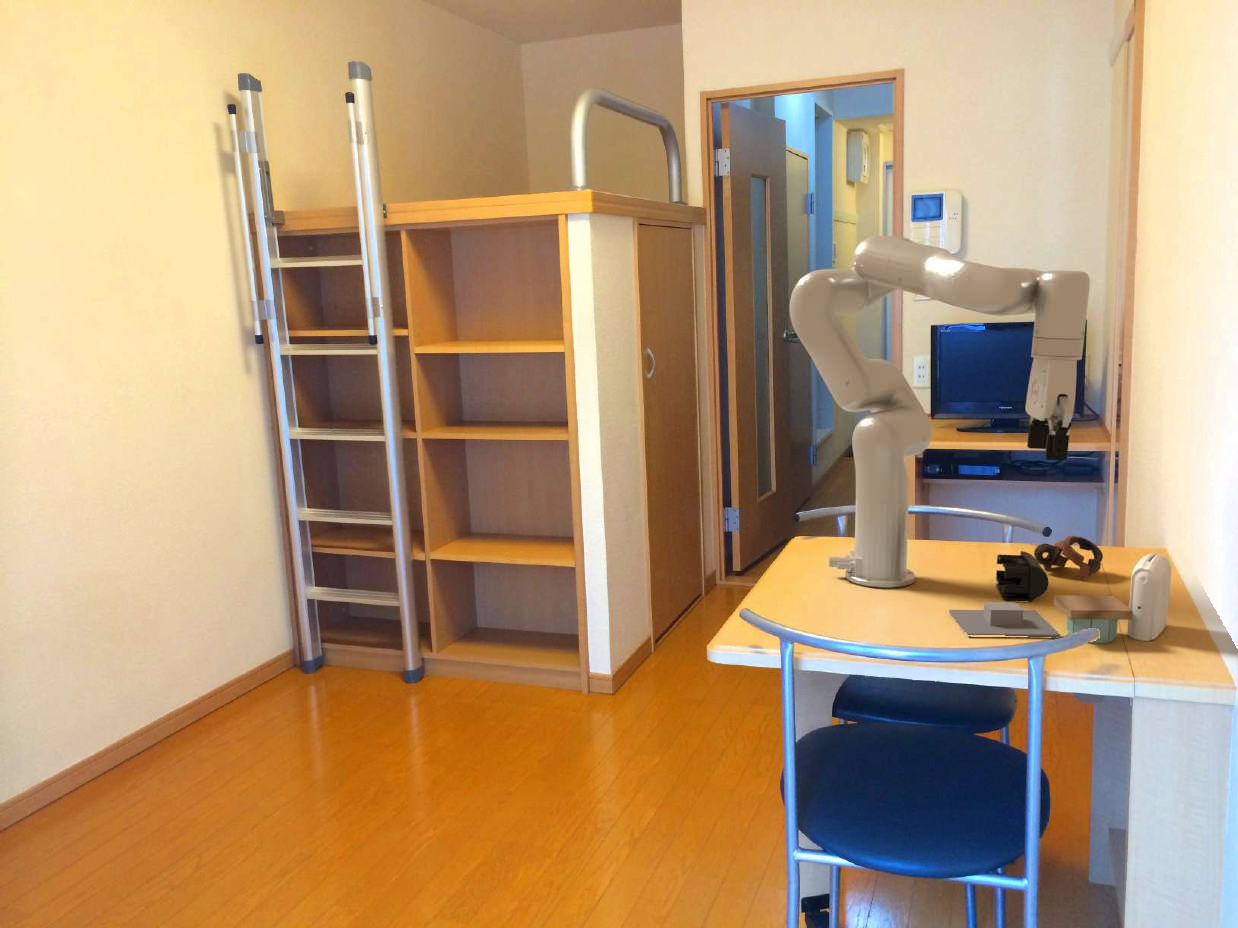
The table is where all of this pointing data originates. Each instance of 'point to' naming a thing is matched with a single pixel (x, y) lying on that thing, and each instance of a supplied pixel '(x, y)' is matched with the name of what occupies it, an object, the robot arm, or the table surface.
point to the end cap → (1020, 578)
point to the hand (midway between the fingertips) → (1046, 453)
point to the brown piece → (1070, 556)
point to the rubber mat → (984, 629)
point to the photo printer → (1149, 597)
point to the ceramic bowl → (1104, 625)
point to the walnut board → (1093, 607)
